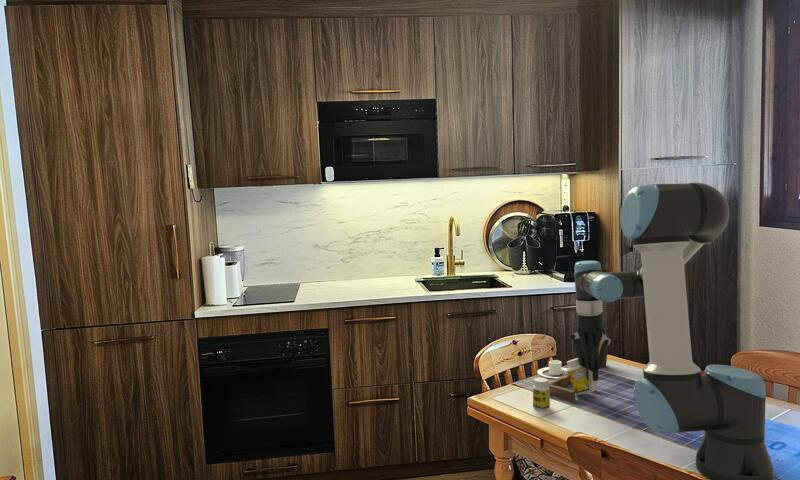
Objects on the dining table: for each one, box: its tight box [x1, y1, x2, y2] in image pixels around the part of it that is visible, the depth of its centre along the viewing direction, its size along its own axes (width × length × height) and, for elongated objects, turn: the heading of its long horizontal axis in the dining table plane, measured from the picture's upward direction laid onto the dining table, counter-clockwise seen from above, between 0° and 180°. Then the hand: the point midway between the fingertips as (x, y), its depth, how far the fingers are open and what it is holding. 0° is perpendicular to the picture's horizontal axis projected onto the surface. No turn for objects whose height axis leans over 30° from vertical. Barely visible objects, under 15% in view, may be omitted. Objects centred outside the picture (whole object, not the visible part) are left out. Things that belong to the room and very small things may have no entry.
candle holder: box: [536, 359, 567, 379], centre depth 206 cm, size 12×12×4 cm
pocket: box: [548, 373, 598, 403], centre depth 188 cm, size 13×10×3 cm
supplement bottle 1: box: [532, 377, 551, 411], centre depth 176 cm, size 5×5×8 cm
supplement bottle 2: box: [566, 357, 591, 396], centre depth 185 cm, size 6×6×10 cm
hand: (593, 390), depth 182 cm, fingers closed
